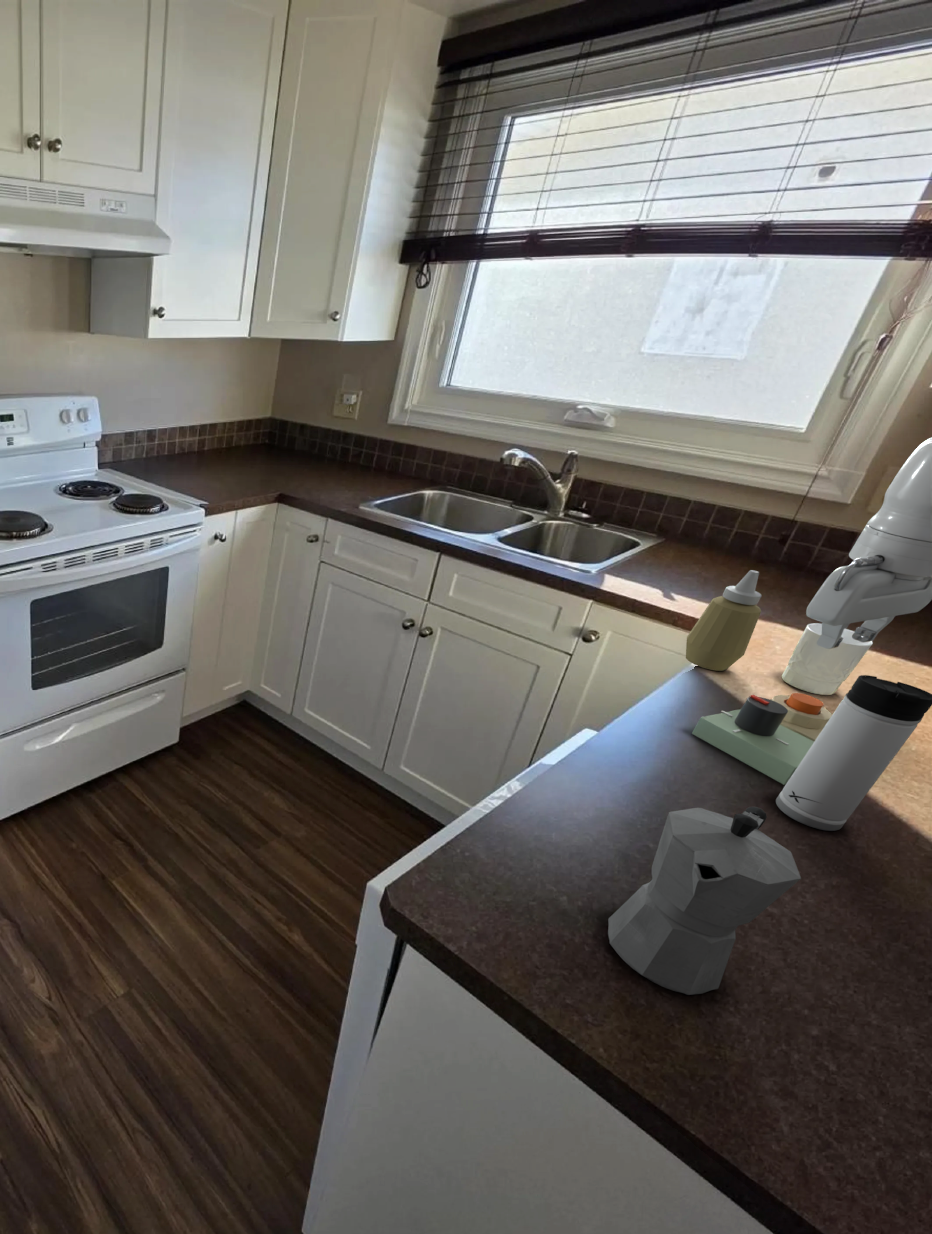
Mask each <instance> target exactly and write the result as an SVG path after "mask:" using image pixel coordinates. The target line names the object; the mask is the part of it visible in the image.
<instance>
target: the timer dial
mask: <svg viewBox="0 0 932 1234" xmlns="http://www.w3.org/2000/svg"><path fill="white" fill-rule="evenodd" d="M740 709H741V710H740V712H739V714H738V715H737V717H736V719H735V721H734V722H735V724H736V725H737V726H739V727H740V728H742V729H744V730H746V731H748V732H750V733H753V734H756V735H761V736H772V735H774V733H775V732H776V730H777V728H778V727H779V725H780V724H781V722H782V720H783V719H784V717H785V716H786V714H787V713H788V710H787V709H786V708H785V707H784V706H783V705H781V704H779V703H777V702H775V701H772V700H770V699H769V698H766V697H762V696H757V695H756V694H750V696H749V697H747V698H746V700H745V702H744V704H743V705H742V706H741V708H740Z"/></svg>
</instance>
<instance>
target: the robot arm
mask: <svg viewBox="0 0 932 1234" xmlns="http://www.w3.org/2000/svg"><path fill="white" fill-rule="evenodd" d="M848 557H849V558H850V559H851V560H852V561H851V563H850V564H849V565H843V566H839V567H838V568H836V569H835V570H833V572H831V573H830V574H829V575H828V576H827V577H826V579H825V580H824V582H823V583H822V585H821V586H820V587H819V588H818V590H817V592H816V593H815V595H814V596H813V598H812V599H811V600H810V602H809V604H808V605H807V607H806V611H805V613H806V614H805V615H806V617H807V618H809V619H812V620H815V621H817V622H819V623H821V624H822V631H821V633H822V634H821V635H820V637H819V639H818V640H817V644H818V645H819V646H821V647H824V648H826V649H831V648H836V647H838V646H839V644H840V643H841V641H842V640H843V638H842V637H841V635H842V633H843V630H844V629H848V627H849V626H850V624H854V623H861V622H863V623H862V624H861V625H860V626H856V628H855V630H854V632H855V633H854V634H853V635H852V638H853V639H855V640H858V641H860V642H870V641H872V642H873V641H874V640H875V639H876V637H877V636H878V634H879V633H880V632H881V631H882V630H883V629H884V628H886V627H887V626H888V625H889V624H890V623H891V622H892V621H893V620H894V618H895V617H896V616H902V615H909V614H914V613H918V612H920V611H921V610H922V609H925V607H926V606H928V604H930V602H931V601H932V436H931V437H929V438H926V440H924V441H923V442H922V443H920V444H919V445H918V446H917V448H915V449H914V450H913V452H912V453H910V455H909V456H908V458H907V459H906V460H905V462H904V463H903V465H902V466H901V468H900V469H899V470H898V472H897V473H896V475H895V477H894V478H893V480H892V481H891V483H890V484H889V486H888V488H887V489H886V491H885V493H884V499H883V502H882V505H881V507H880V508H879V510H878V511H877V512H876V513H875V514H874V515H873V516H872V517H871V518H869V520H868V521H867V523H866V524H865V526H864V528H863V530H862V531H861V533H860V535H859V536H858V538H857V539H856V541H855V542H854V545H853V546H852V548H851V550H850V551H849V553H848Z"/></svg>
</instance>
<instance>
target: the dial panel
mask: <svg viewBox="0 0 932 1234" xmlns="http://www.w3.org/2000/svg"><path fill="white" fill-rule="evenodd" d="M741 709H742V708H740V709H735V710H730V711H725V710H721V711H720V713H716V714H715V713H714V714H711V715H706V716H700V718H699V720H698V721H697V723H696V725H695V727H694V729H693V731H692V733H691V735H694V736H695V737H697V738H698V739H701V740H702V741H704V742H706V743H708V744H709V745H711V746H713V747H715V748H717V749H719V750H721V751H722V752H723V753H726V754H727V755H730V756H731V757H733V758H735V759H737V760H739V761H740V762H742V763H744V764H746V765H748V766H749V767H751V768H753V769H754V770H756V771H758V772H760V773H762V774H764V775H765V776H767V777H769V778H771V779H773V780H774V781H776V782H778V783H780V784H781V785H783V786H785V785H786V784H787V782H788V781H789V779H790V778H791V776H792V775H793V773H794V772H795V770H796V769H797V767H798V766H799V764H800V763H801V761H802V760H803V758H804V757H805V755H806V754H807V752H808V751H809V749H810V748H811V746H812V745H813V743H814V741H812V740H810V739H808V738H806V737H804V736H802V735H800V734H798V733H796V732H794V731H792V730H790V729H788V728H786V727H784V726H782V725H779V727H778V728H777V730H776V732H775V733H774V735H772V736H761V735H756V734H753V733H750V732H748V731H746V730H744V729H742V728H740V727H739V726H737V725H736V724H735V722H734V721H735V719H736V717H737V715H738V714H739V712H740V710H741Z"/></svg>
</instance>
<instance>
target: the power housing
mask: <svg viewBox="0 0 932 1234" xmlns="http://www.w3.org/2000/svg"><path fill="white" fill-rule="evenodd" d="M790 696H791V695H787V694H778V695H774V696H773V697H772V698H770V699H769V700H772V701H775V702H777V703H779V704H781V705H783V706H784V707H785V708H786V709H787V710H788V713H787V714H786V716H785V717H784V719H783V720H782V722H781V724H780V725H782V726H784V727H786V728H788V729H790V730H792V731H794V732H796V733H798V734H800V735H802V736H804V737H806V738H808V739H810V740H812V741H814V742H815V740H816V739H817V737H818V736H819V734H820V733H821V731H822V730H823V728H824V727H825V725H826V724H827V722H828V721H829V719H830V718H831V716H832V715H833V713H832V712H831V711H830V710H828V709H827V708H825V707H824V706H823V707H822V708H821V710H820V711H819V713H818V714H817V715H812V714H807V713H803V712H800V711H797V710H795V709H793V708H791V707H789V706H788V705H787V704H786V702H787V700H788V699H789V697H790Z"/></svg>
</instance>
